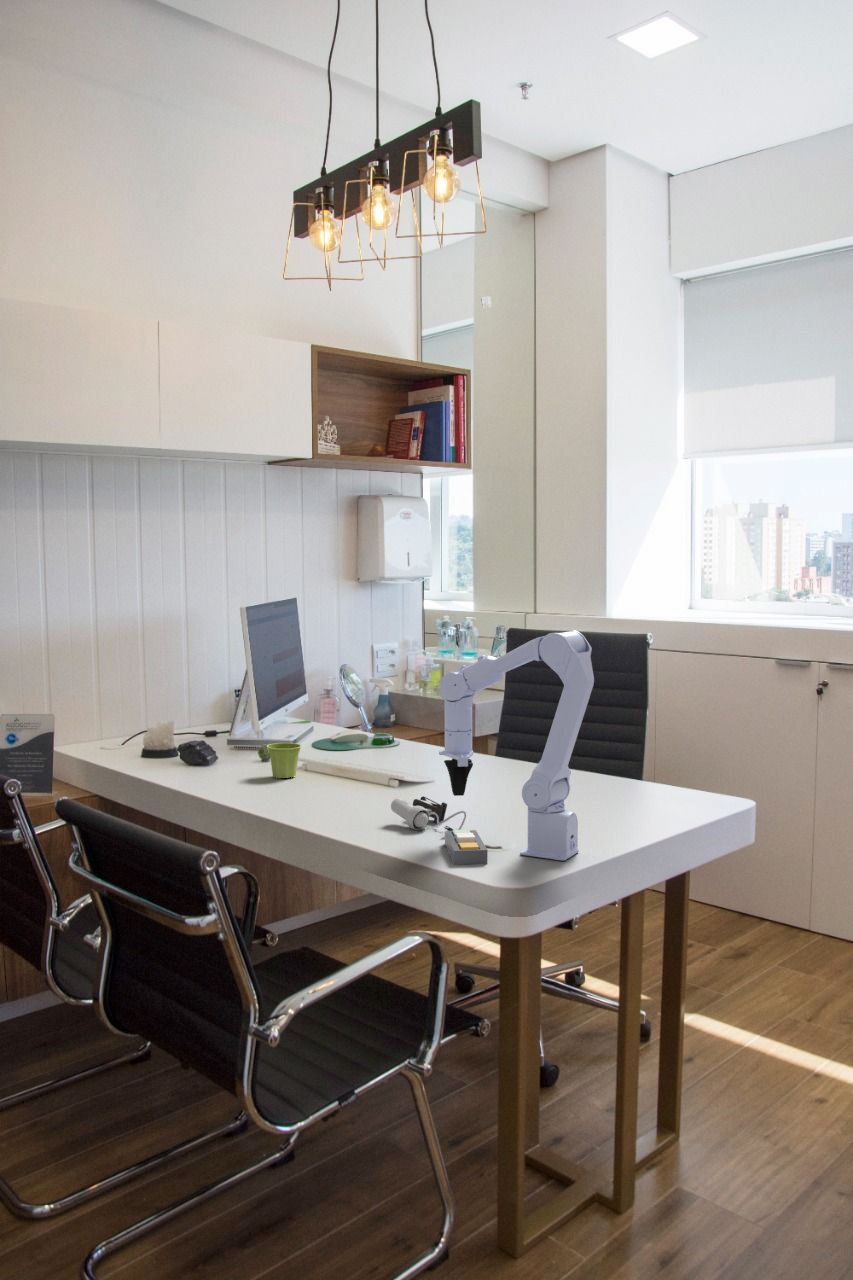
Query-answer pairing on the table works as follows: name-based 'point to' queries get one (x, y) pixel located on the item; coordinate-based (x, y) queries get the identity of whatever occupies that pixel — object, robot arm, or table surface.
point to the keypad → (466, 855)
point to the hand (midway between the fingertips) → (458, 794)
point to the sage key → (460, 832)
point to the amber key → (468, 846)
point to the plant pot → (284, 759)
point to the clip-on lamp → (422, 812)
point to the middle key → (465, 837)
